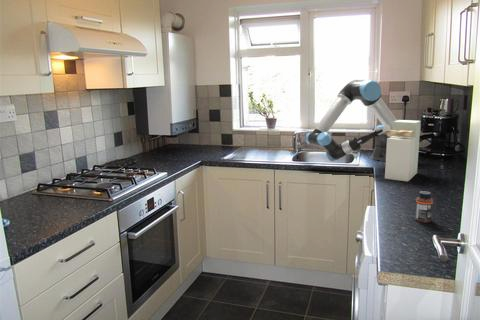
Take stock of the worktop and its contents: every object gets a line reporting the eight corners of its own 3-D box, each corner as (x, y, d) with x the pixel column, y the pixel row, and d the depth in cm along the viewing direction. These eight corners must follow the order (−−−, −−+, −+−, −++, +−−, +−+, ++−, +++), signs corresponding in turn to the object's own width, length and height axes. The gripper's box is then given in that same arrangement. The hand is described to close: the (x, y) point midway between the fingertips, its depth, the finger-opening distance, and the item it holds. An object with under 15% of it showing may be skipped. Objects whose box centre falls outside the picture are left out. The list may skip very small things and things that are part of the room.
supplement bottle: (418, 216, 162) (420, 189, 160) (434, 220, 158) (436, 192, 156) (411, 220, 158) (414, 192, 156) (427, 224, 154) (429, 195, 152)
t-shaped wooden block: (373, 133, 225) (373, 129, 224) (376, 132, 230) (376, 128, 229) (410, 136, 214) (410, 132, 214) (412, 134, 219) (412, 130, 219)
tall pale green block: (384, 178, 223) (387, 123, 217) (395, 170, 241) (398, 119, 235) (407, 181, 217) (411, 124, 211) (416, 173, 234) (420, 120, 228)
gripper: (358, 149, 242) (395, 131, 228) (349, 153, 230) (388, 135, 216) (353, 138, 243) (389, 119, 229) (343, 141, 230) (381, 122, 217)
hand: (389, 127), depth 223 cm, fingers closed on t-shaped wooden block, 2 cm apart
